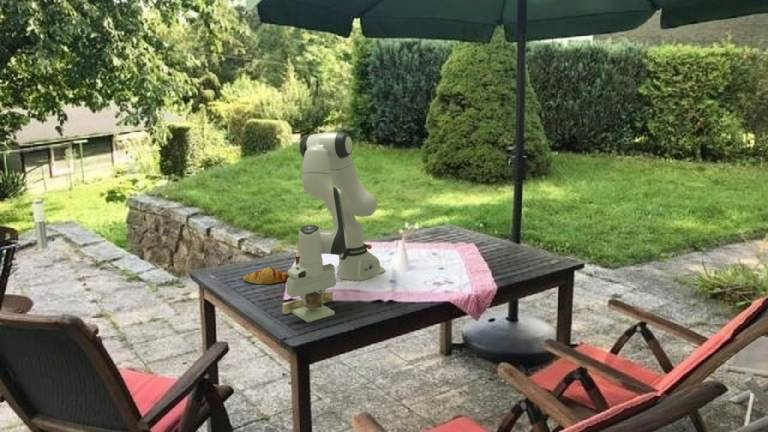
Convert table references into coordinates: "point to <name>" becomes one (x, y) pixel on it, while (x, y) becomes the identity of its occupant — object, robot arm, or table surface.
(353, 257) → the robot arm
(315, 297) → the cube
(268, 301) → the table surface
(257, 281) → the croissant
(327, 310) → the tile
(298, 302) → the plank
